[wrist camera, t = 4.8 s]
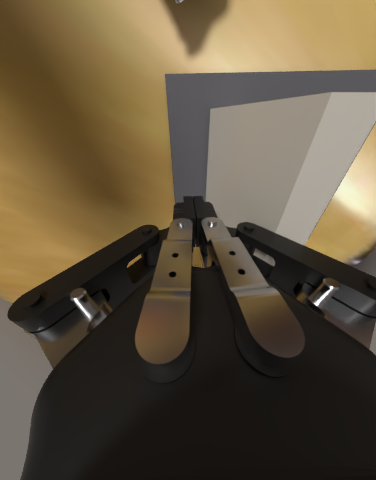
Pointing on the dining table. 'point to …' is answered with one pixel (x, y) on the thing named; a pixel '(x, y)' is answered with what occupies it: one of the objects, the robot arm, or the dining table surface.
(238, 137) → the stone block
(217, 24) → the dining table surface
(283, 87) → the rubber mat
